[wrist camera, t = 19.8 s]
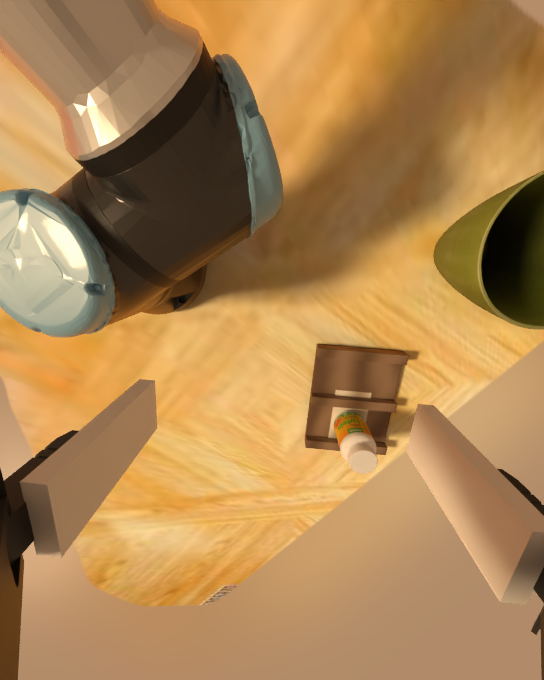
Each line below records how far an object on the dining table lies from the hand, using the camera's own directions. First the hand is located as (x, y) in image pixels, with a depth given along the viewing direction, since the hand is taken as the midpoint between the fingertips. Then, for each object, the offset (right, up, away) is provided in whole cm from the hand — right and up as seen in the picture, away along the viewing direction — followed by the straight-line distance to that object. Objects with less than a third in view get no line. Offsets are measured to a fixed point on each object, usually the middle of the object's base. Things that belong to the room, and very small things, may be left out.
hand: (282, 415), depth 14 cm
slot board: (+13, -6, +34) cm, 37 cm away
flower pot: (+27, +17, +27) cm, 42 cm away
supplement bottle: (+13, -11, +35) cm, 39 cm away
